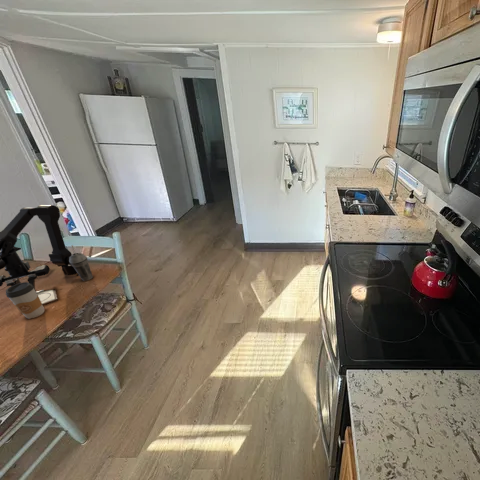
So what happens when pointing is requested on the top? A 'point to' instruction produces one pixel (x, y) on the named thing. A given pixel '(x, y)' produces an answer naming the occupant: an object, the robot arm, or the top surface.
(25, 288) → the coffee cup
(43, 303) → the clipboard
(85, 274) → the beverage cup
